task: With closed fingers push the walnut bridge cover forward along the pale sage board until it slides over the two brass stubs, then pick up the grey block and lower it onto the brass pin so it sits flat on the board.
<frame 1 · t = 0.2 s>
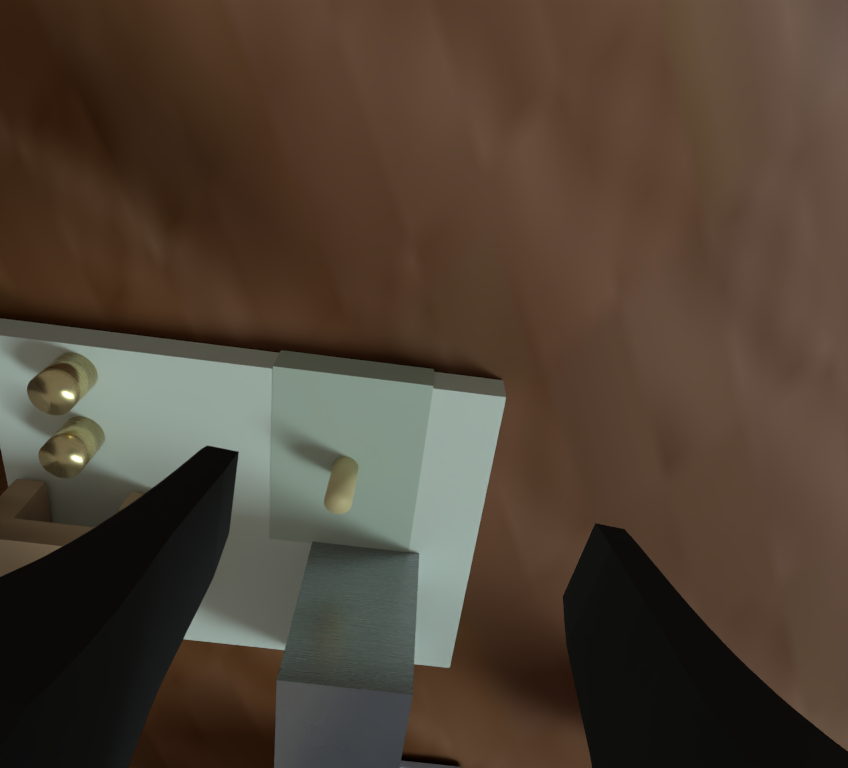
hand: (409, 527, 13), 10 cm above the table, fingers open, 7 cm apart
grey block: (359, 605, 26), point 1 cm above the table, touching base
cover: (76, 569, 24), point 3 cm above the table, slide at 0.0 cm
stubs: (96, 386, 24), resting on base
base: (253, 502, 26), on the table
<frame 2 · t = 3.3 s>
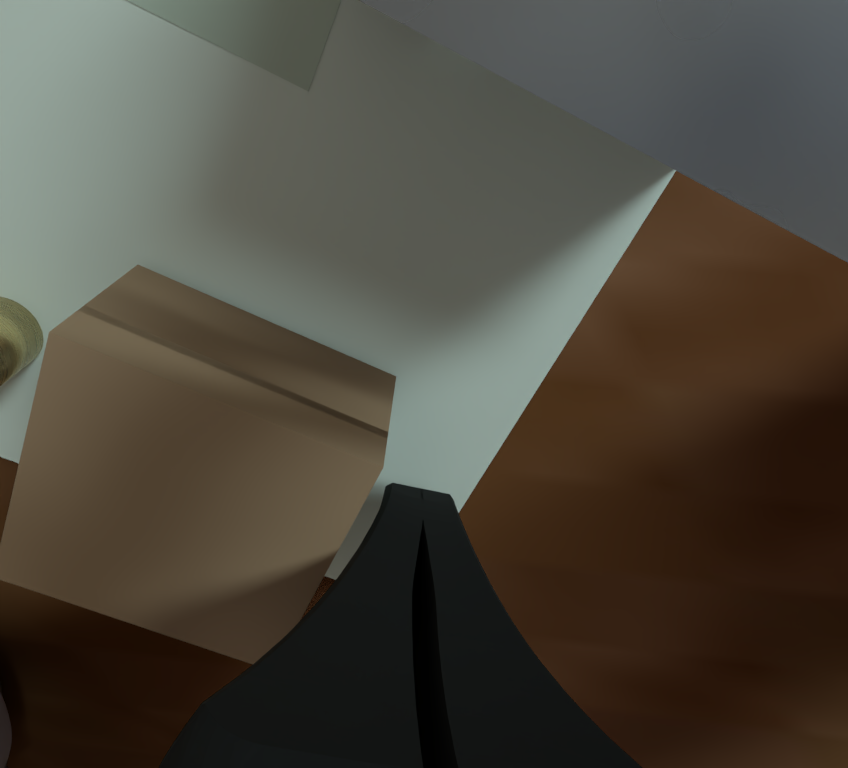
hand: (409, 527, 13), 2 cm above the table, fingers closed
cover: (206, 470, 12), point 3 cm above the table, slide at 0.1 cm, touching gripper
base: (271, 119, 12), on the table
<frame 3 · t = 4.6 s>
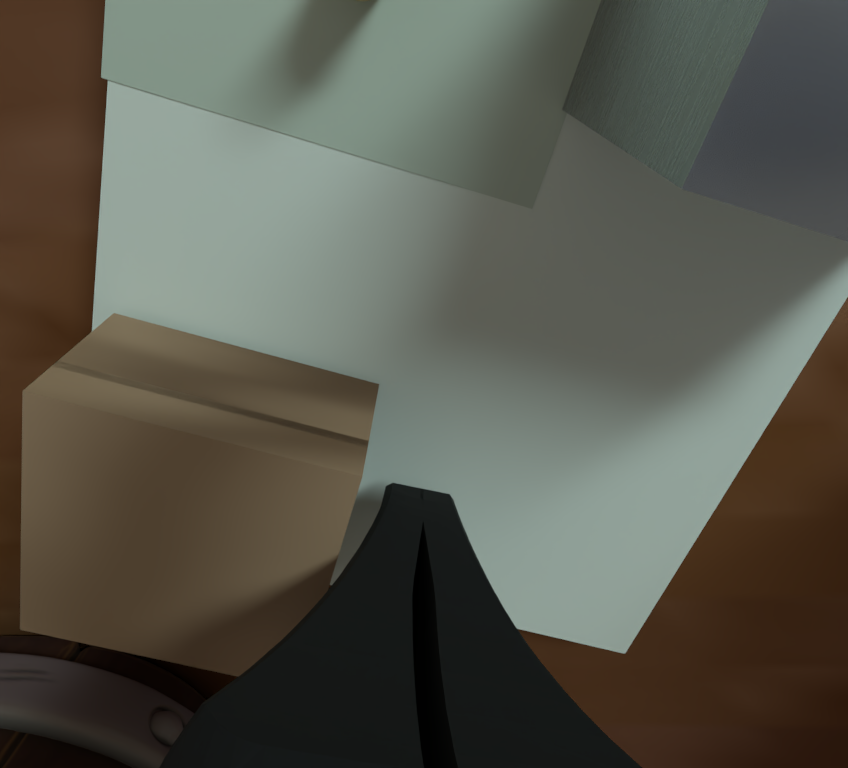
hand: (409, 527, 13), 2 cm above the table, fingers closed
grey block: (799, 32, 10), point 1 cm above the table, touching base
flowerpot: (86, 740, 21), on the table
cover: (206, 502, 12), point 3 cm above the table, slide at 5.0 cm, touching gripper
base: (478, 230, 13), on the table
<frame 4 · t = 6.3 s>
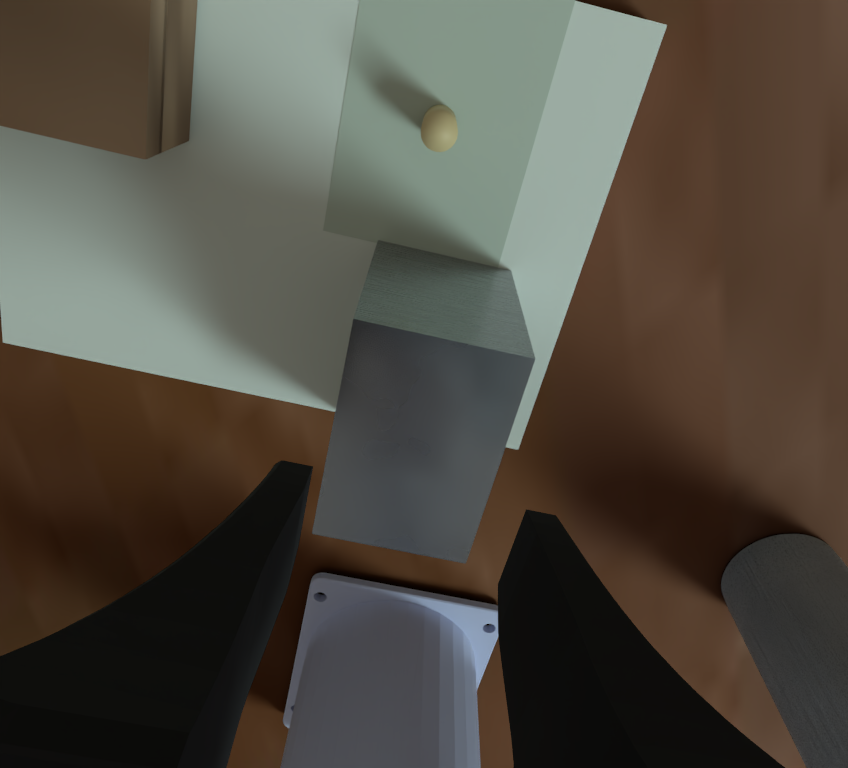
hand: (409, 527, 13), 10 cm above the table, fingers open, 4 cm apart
grey block: (422, 346, 21), point 1 cm above the table, touching base
cover: (65, 13, 16), point 3 cm above the table, slide at 5.0 cm
grey cylinder: (776, 572, 27), on the table
base: (302, 193, 20), on the table
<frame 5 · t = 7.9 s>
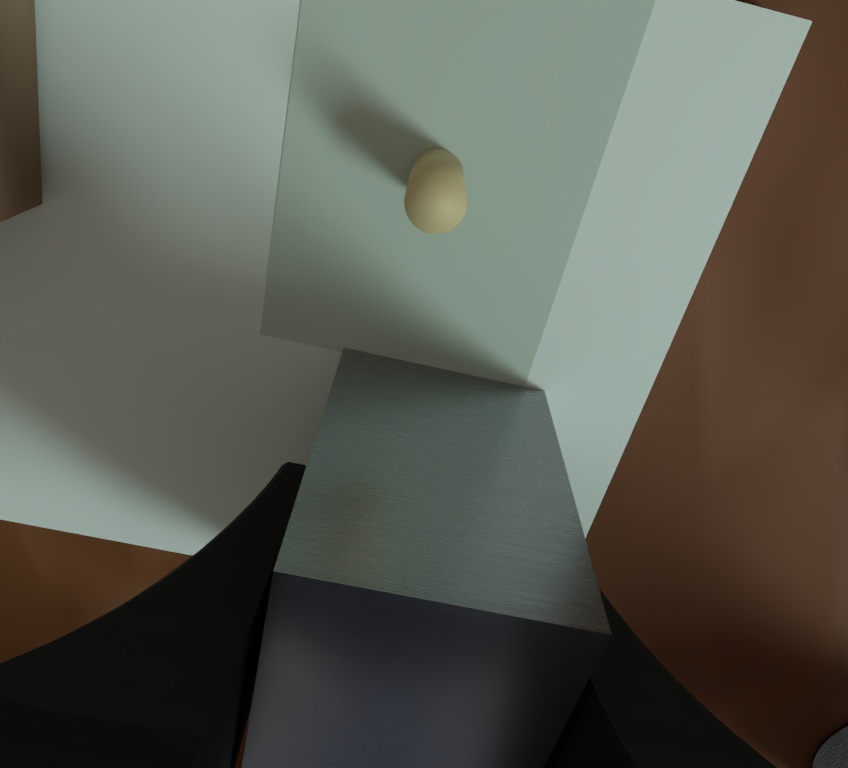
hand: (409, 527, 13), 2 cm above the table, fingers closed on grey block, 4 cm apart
grey block: (412, 491, 14), point 1 cm above the table, touching base, gripper
base: (233, 273, 14), on the table
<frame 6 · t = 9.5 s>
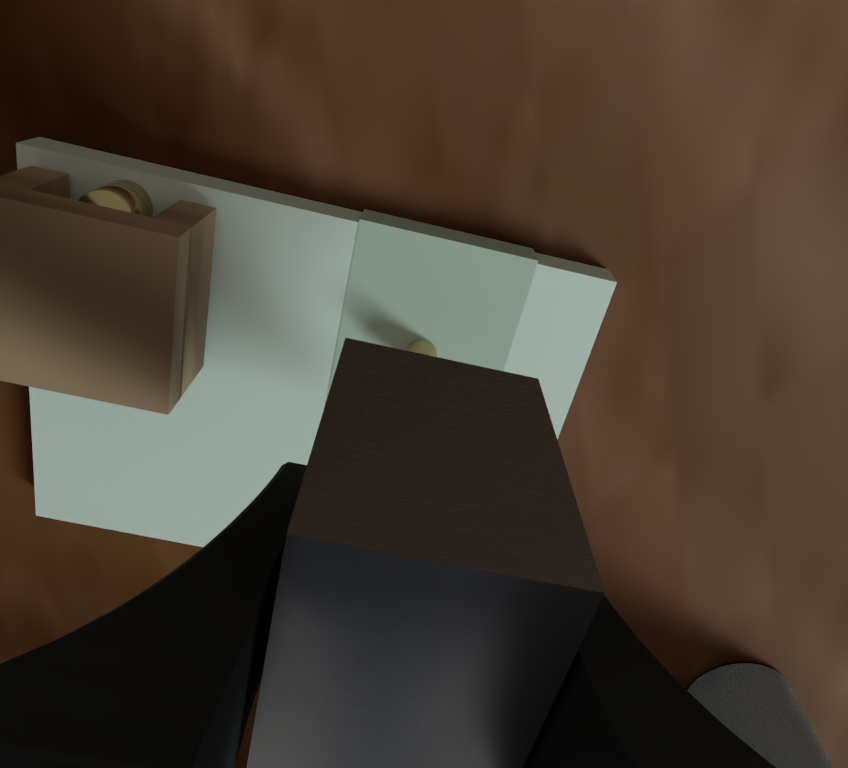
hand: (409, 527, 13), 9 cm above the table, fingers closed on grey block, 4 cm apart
grey block: (411, 478, 15), point 8 cm above the table, touching gripper
cover: (100, 290, 18), point 3 cm above the table, slide at 5.0 cm
stubs: (143, 234, 20), resting on base
grey cylinder: (733, 693, 29), on the table
base: (302, 393, 23), on the table
when the fingers open (3 cm above the table, at t = 10.9 s): grey block stays where it is, resting on base.
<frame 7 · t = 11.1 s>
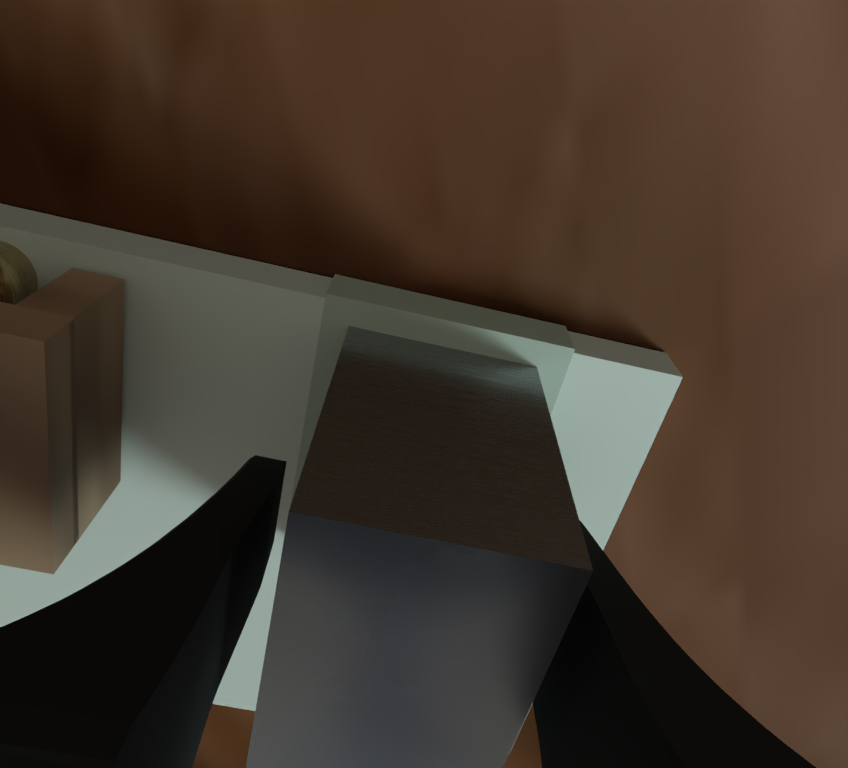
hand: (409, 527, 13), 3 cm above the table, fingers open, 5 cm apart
grey block: (412, 463, 15), point 1 cm above the table, touching base
stubs: (36, 306, 15), resting on base
base: (259, 504, 17), on the table
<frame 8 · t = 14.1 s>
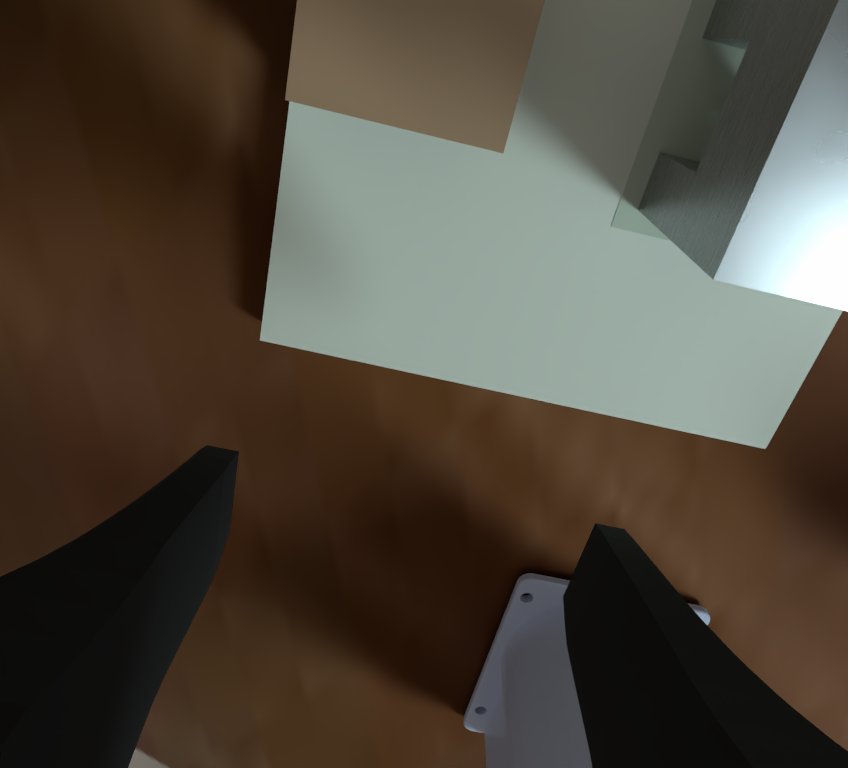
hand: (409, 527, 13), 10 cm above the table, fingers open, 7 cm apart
grey block: (751, 115, 18), point 1 cm above the table, touching base
cover: (422, 4, 15), point 3 cm above the table, slide at 5.0 cm
base: (579, 189, 20), on the table
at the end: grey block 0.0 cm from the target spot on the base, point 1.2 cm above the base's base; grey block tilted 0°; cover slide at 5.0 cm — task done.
